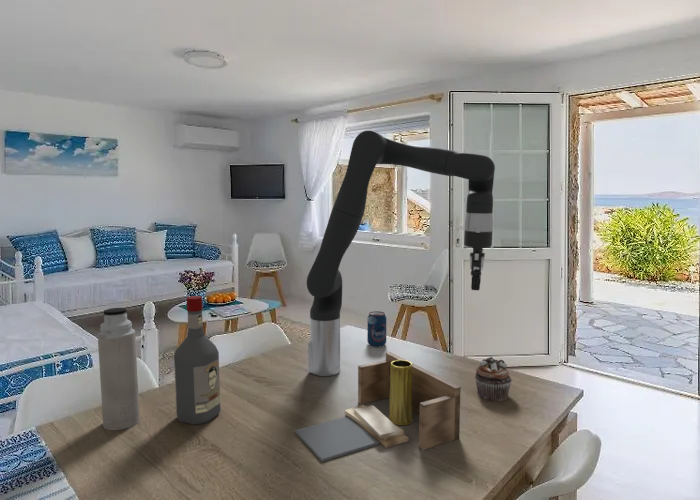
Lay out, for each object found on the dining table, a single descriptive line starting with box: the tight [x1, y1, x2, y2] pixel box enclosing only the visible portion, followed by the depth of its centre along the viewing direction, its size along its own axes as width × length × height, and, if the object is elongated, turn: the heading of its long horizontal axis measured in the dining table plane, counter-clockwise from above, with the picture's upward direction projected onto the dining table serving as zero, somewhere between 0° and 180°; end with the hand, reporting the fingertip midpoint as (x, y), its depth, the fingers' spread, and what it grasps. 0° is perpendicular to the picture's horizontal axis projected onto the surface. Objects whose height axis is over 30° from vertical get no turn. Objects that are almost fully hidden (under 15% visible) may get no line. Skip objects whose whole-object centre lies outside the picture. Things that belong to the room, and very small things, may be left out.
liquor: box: [173, 295, 221, 426], centre depth 116 cm, size 9×9×30 cm
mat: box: [294, 416, 380, 463], centre depth 106 cm, size 14×14×1 cm
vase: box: [387, 359, 414, 426], centre depth 114 cm, size 6×6×14 cm
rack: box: [344, 351, 462, 451], centre depth 113 cm, size 17×28×12 cm, turn 30°
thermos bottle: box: [97, 307, 141, 431], centre depth 112 cm, size 8×8×28 cm
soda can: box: [366, 310, 387, 348], centre depth 173 cm, size 7×7×12 cm
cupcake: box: [474, 356, 513, 402], centre depth 129 cm, size 10×10×10 cm
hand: (475, 286), depth 132 cm, fingers open, 8 cm apart
